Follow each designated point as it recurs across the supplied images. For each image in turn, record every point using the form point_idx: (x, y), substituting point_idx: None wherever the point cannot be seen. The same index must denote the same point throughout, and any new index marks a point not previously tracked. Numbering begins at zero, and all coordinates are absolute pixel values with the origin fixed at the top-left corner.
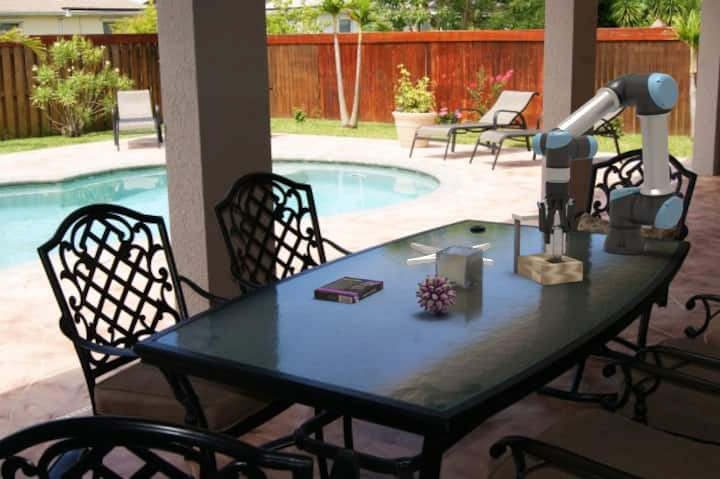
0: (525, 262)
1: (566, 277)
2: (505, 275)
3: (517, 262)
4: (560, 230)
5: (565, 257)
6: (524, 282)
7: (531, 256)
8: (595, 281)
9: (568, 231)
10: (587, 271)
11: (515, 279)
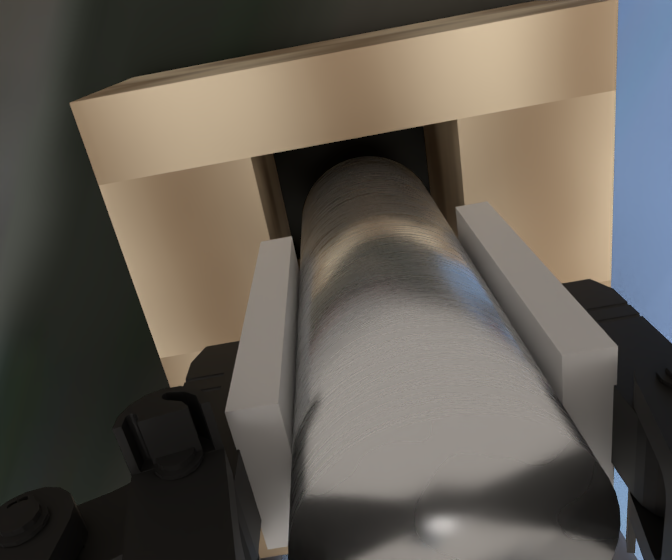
0: None
1: (301, 47)
2: None
3: None
4: (402, 400)
5: None
6: (643, 140)
7: None
8: (16, 13)
9: (159, 411)
10: (12, 356)
11: (654, 249)
